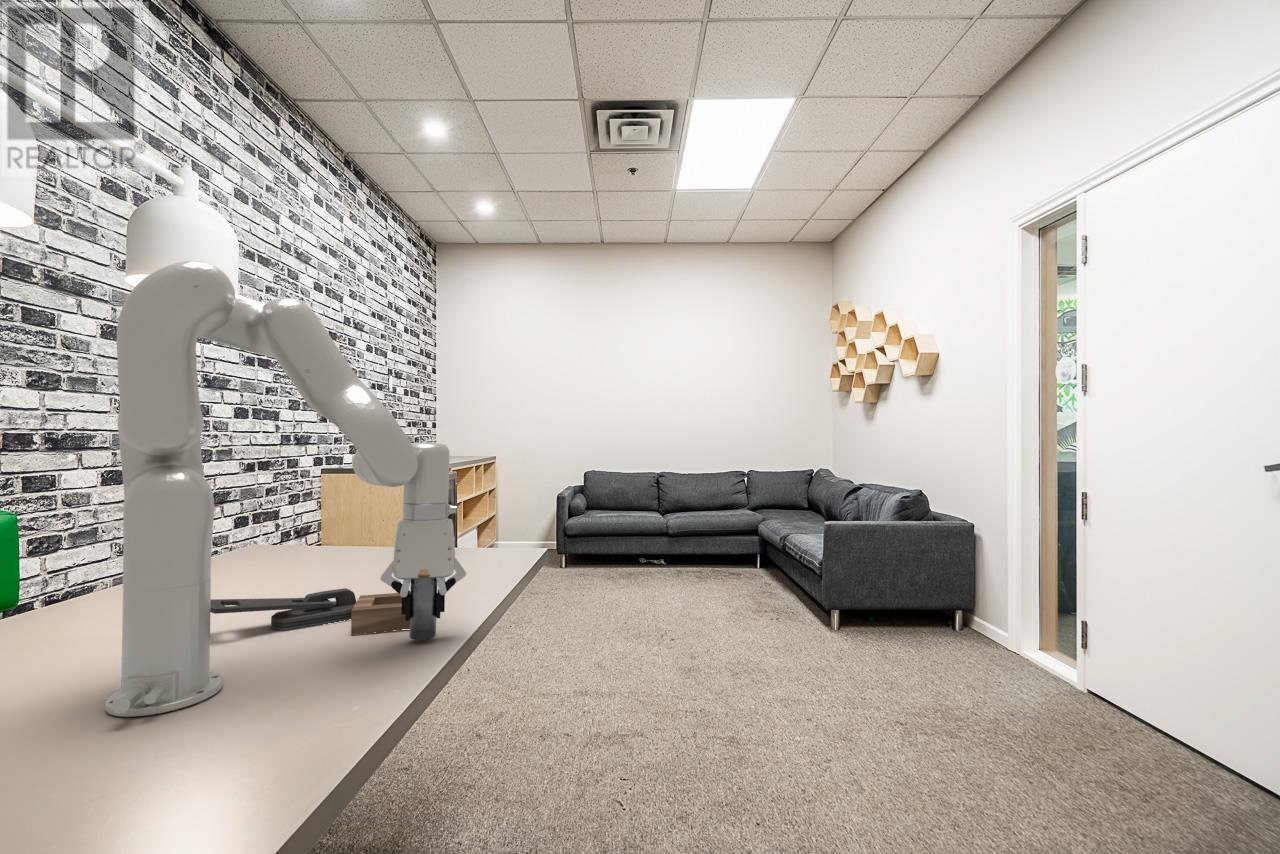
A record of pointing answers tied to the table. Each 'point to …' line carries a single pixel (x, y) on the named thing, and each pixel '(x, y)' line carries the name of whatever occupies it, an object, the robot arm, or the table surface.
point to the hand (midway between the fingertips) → (423, 616)
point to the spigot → (423, 606)
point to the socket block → (378, 614)
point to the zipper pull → (295, 608)
